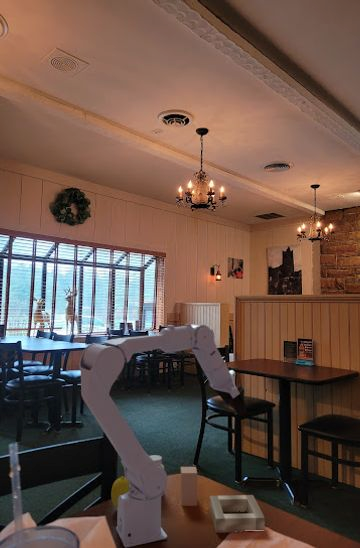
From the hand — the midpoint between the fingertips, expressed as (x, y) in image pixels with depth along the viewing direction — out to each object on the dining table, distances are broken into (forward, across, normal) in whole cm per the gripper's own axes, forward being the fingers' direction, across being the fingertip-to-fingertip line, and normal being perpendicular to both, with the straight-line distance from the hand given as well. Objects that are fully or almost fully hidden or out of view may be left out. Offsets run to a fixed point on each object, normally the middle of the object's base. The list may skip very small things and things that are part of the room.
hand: (236, 407), depth 107 cm
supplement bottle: (+12, +7, +30) cm, 33 cm away
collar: (+17, -11, +15) cm, 25 cm away
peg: (+15, 0, +23) cm, 27 cm away
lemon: (+6, +1, +37) cm, 38 cm away
